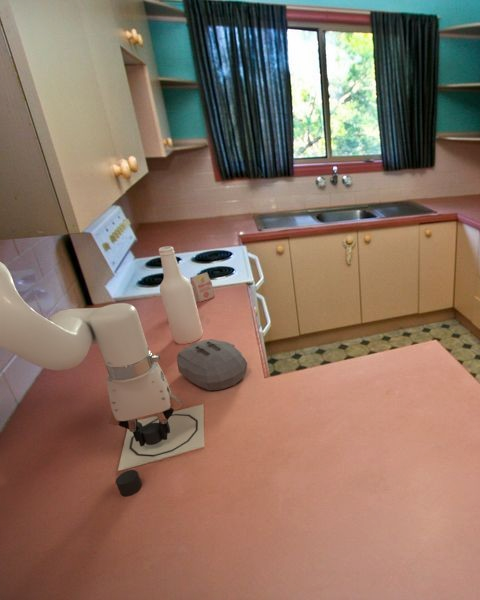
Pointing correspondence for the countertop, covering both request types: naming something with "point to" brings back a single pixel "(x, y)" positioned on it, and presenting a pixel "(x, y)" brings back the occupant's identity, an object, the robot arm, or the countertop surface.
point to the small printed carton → (202, 287)
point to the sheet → (180, 439)
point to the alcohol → (179, 300)
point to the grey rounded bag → (212, 364)
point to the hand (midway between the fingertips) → (154, 438)
